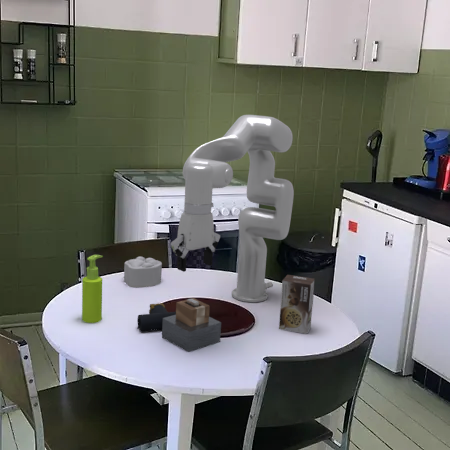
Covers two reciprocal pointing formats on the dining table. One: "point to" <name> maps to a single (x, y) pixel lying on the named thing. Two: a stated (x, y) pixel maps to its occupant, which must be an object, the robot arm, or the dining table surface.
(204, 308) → the brown small box
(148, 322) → the pipe connector
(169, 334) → the block
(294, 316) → the brown grey upright box
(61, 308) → the dining table surface
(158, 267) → the lumpy-topped squat cylinder
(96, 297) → the soap dispenser
